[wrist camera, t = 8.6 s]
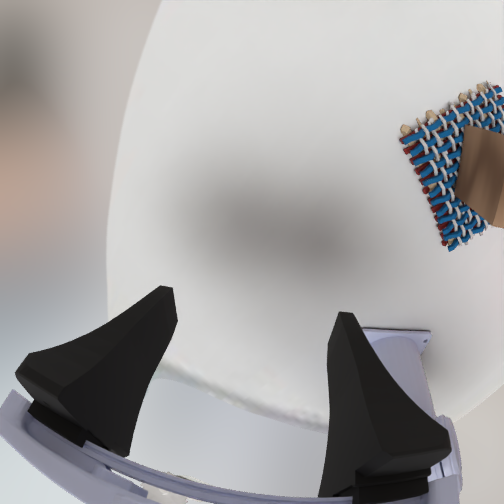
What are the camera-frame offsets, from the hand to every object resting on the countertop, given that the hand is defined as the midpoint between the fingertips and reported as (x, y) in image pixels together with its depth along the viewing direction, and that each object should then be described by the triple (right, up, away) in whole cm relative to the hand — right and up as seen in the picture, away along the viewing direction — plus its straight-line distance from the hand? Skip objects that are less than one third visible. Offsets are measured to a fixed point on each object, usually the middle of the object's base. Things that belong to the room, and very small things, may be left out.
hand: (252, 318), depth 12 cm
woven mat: (+16, +10, +3) cm, 19 cm away
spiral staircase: (-32, -85, +66) cm, 112 cm away
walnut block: (+16, +9, +1) cm, 18 cm away
